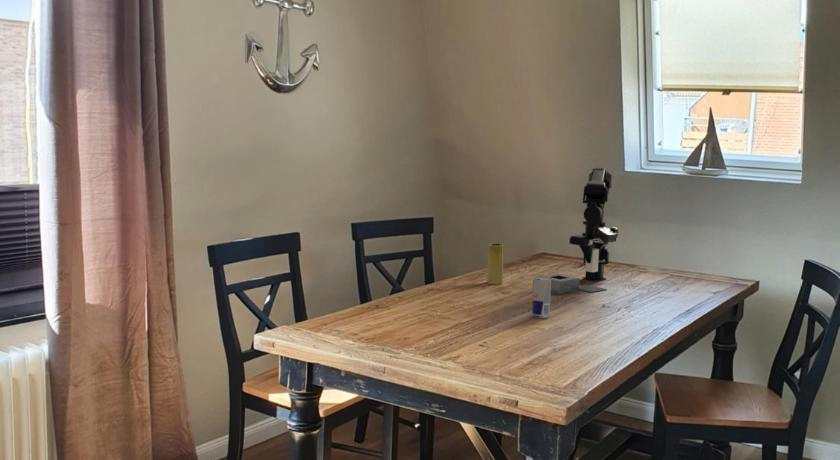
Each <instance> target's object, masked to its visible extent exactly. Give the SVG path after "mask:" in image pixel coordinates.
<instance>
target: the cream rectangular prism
mask: <svg viewBox="0 0 840 460" xmlns="http://www.w3.org/2000/svg"><path fill="white" fill-rule="evenodd" d="M598 258H599V249H596V248H593V249H592V255H591V262H590V263H587V261H586V263H585V272H586V271H588V272H598Z"/></svg>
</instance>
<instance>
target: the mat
mask: <svg viewBox="0 0 840 460" xmlns="http://www.w3.org/2000/svg"><path fill="white" fill-rule="evenodd" d="M607 290H608V289H607V288H603V287H599V286H594V285H590V284H589V285H584V286H583V285H582V286H579V291H581V292H586V293H589V294H595V293H600V292H604V291H607Z"/></svg>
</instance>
